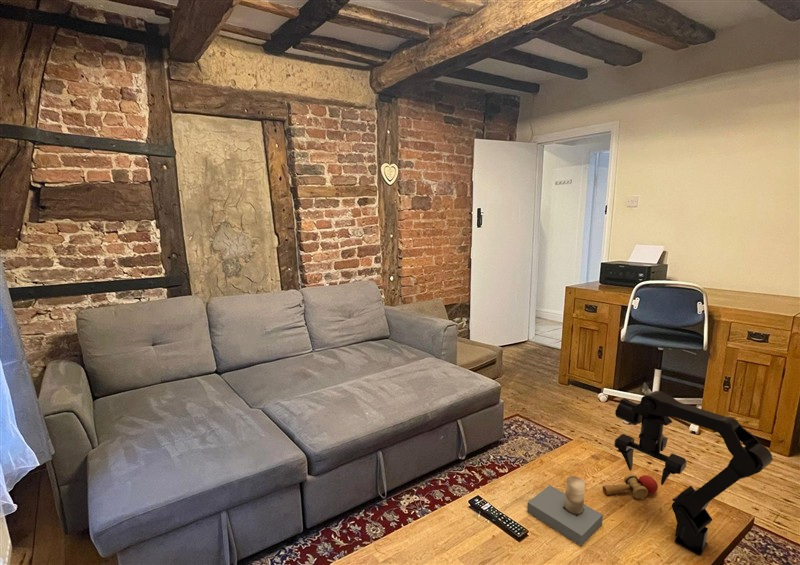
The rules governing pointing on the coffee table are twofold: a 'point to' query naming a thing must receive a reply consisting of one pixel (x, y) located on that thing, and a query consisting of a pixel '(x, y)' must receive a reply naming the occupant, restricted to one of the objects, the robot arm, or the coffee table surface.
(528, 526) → the coffee table surface
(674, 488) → the coffee table surface
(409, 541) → the coffee table surface
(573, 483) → the peg
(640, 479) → the kendama
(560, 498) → the board
